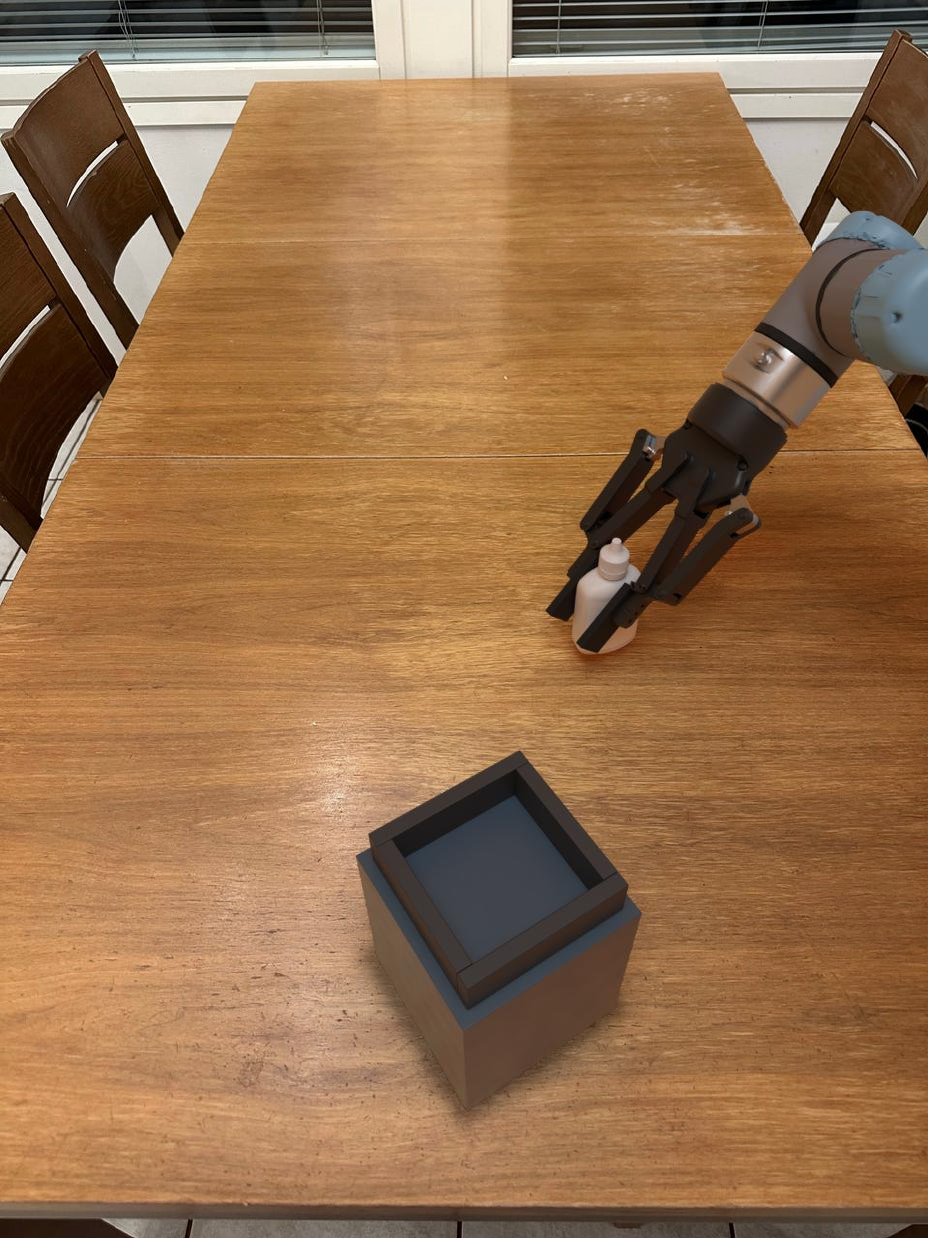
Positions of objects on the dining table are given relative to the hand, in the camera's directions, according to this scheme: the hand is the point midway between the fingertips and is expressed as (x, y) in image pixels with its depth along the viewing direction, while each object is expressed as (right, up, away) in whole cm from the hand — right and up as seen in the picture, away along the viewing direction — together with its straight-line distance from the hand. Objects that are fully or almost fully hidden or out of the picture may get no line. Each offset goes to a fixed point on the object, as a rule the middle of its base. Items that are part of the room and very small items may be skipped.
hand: (571, 631), depth 81 cm
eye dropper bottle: (+3, -1, +4) cm, 5 cm away
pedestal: (-7, -24, -15) cm, 29 cm away
